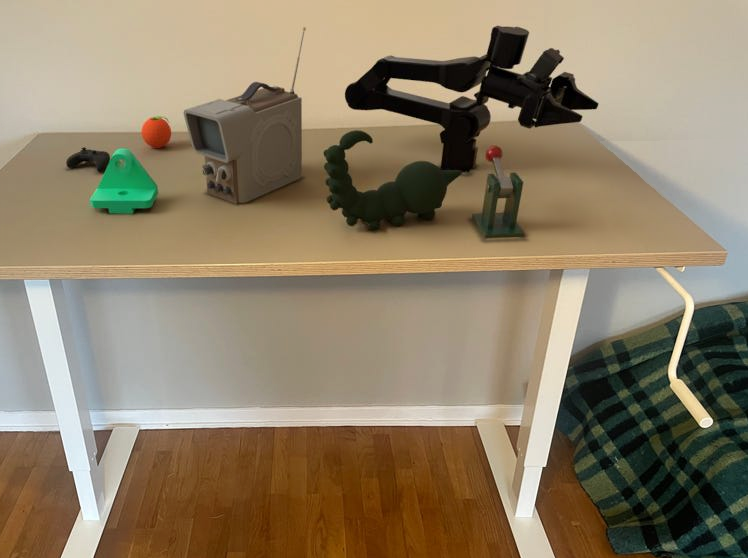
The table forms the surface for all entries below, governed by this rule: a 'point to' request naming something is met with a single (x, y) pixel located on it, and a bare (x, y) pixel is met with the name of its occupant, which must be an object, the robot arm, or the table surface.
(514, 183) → the bracket
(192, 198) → the table surface
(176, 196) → the table surface
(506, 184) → the lever
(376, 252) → the table surface
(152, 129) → the clementine
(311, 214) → the table surface
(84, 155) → the gaming controller
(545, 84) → the robot arm
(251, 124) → the portable television
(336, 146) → the toy figurine
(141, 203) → the camera mount
